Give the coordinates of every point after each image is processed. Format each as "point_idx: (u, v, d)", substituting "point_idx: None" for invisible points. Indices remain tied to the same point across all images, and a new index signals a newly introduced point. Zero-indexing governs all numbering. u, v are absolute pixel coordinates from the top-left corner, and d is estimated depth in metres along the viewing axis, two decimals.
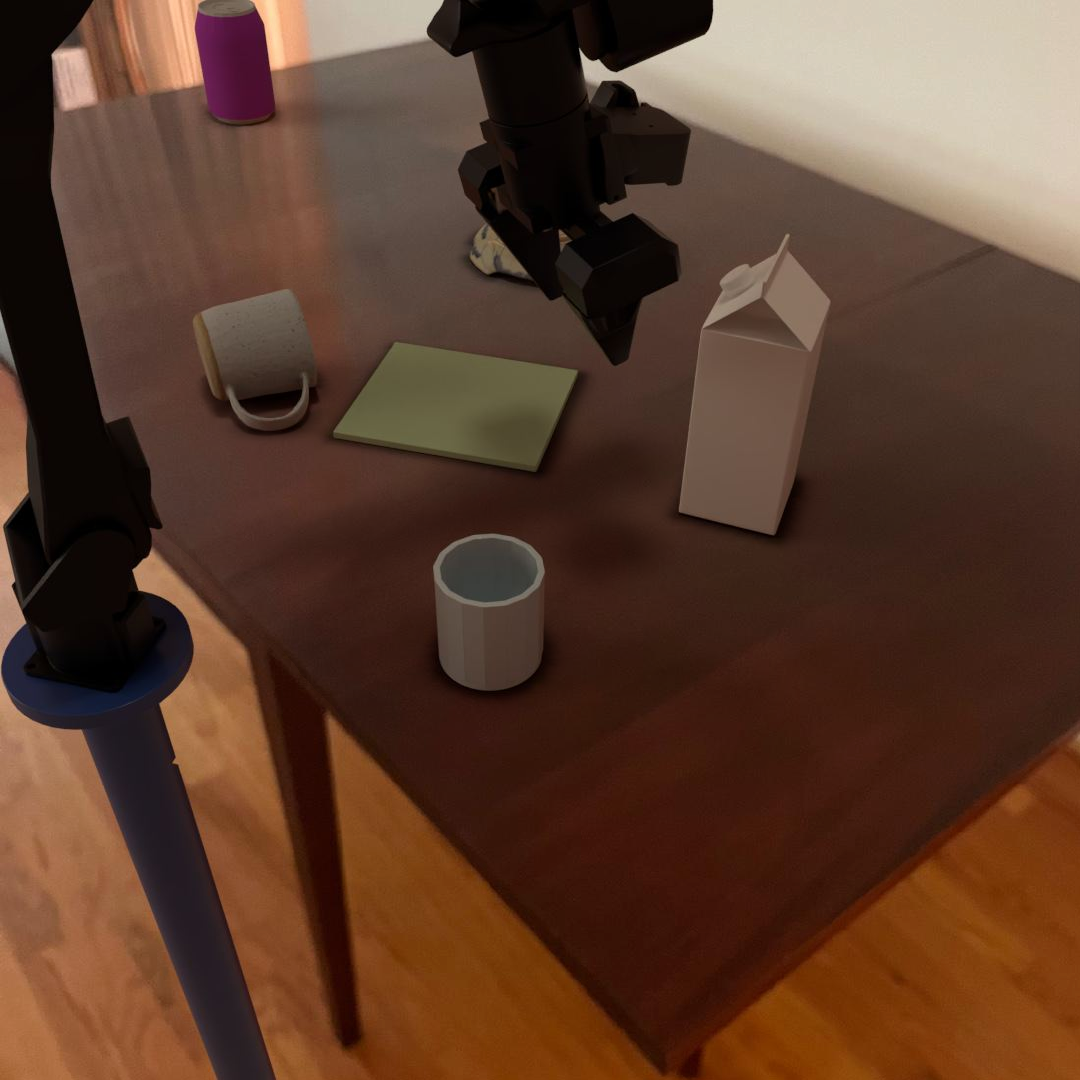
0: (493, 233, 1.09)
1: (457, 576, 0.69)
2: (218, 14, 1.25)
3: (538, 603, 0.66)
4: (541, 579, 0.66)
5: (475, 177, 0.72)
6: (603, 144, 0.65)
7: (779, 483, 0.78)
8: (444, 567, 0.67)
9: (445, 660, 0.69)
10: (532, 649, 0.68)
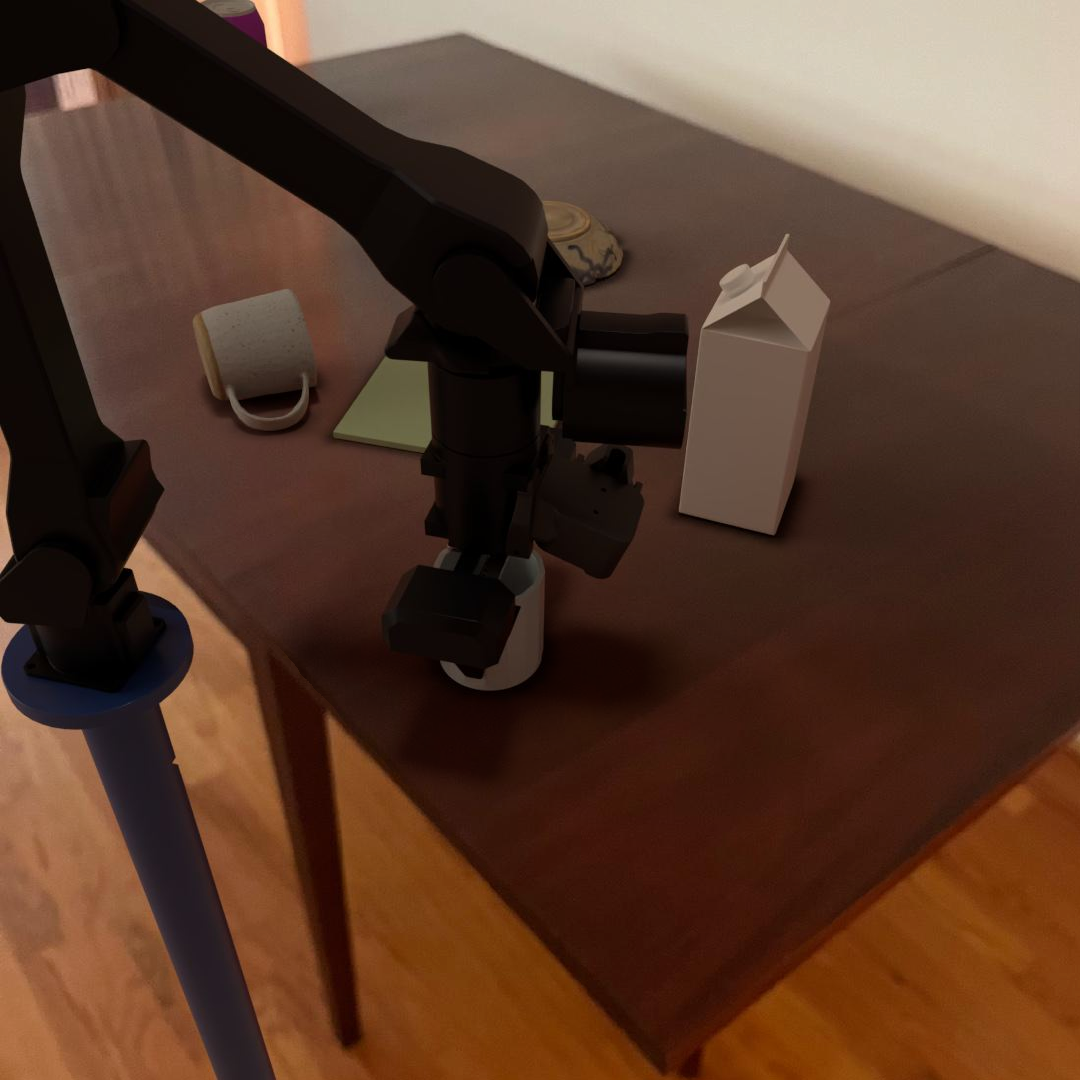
0: None
1: None
2: (218, 14, 1.25)
3: (538, 603, 0.66)
4: (541, 579, 0.66)
5: None
6: (518, 501, 0.59)
7: (779, 483, 0.78)
8: (444, 567, 0.67)
9: None
10: (532, 649, 0.68)
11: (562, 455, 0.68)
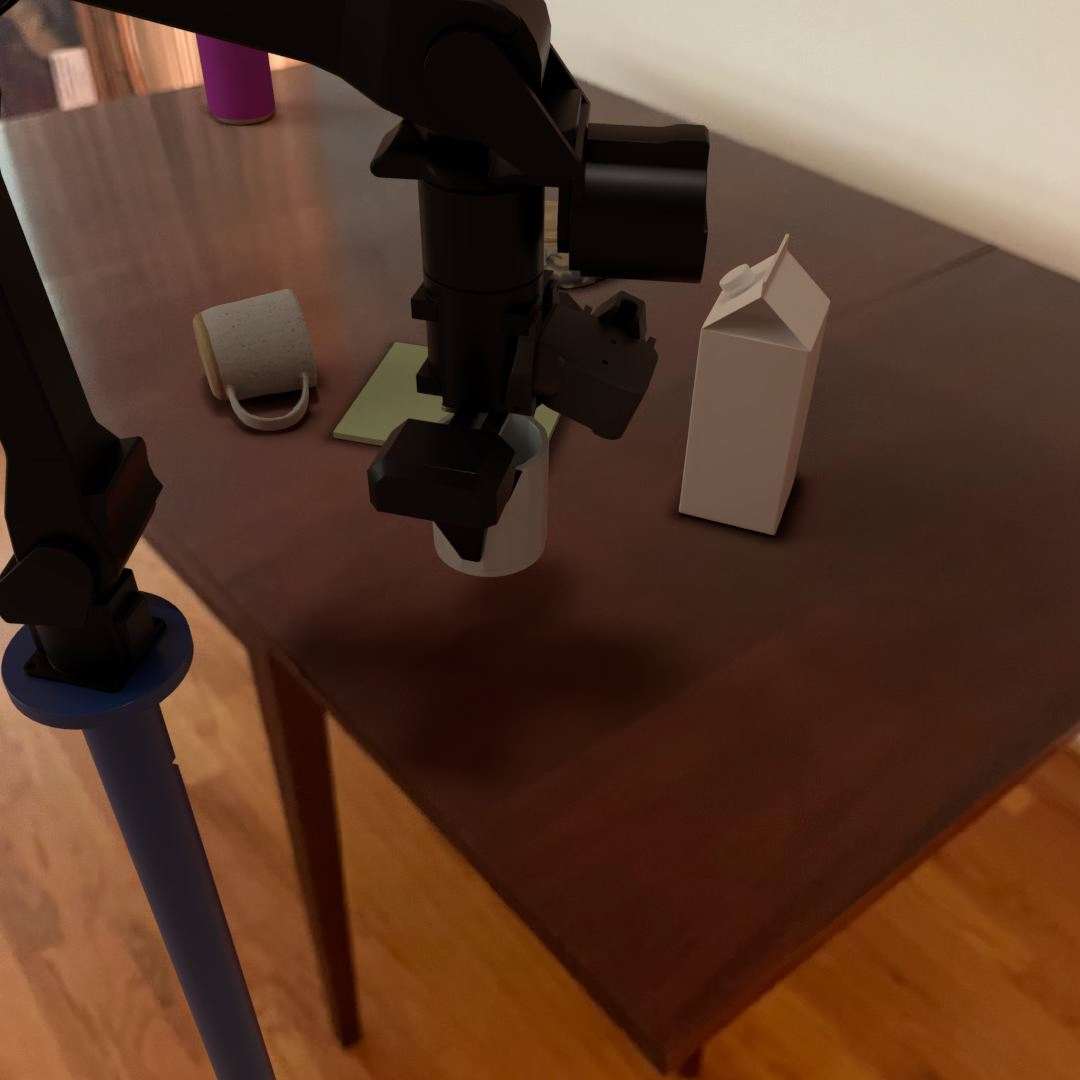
0: None
1: None
2: None
3: (542, 477, 0.61)
4: (545, 449, 0.60)
5: None
6: (519, 347, 0.54)
7: (779, 483, 0.78)
8: None
9: (440, 544, 0.63)
10: (535, 531, 0.63)
11: None
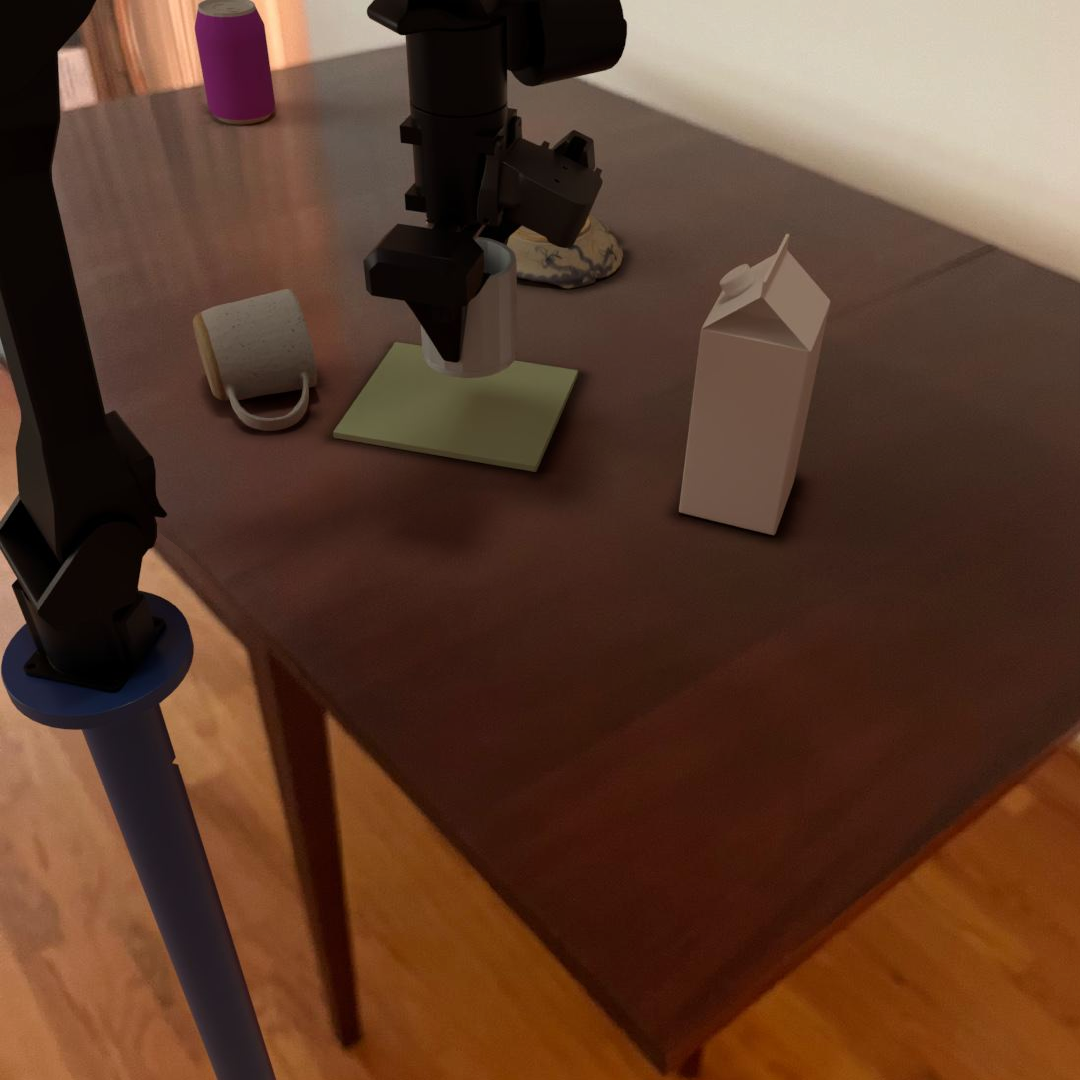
0: None
1: None
2: (218, 14, 1.25)
3: (510, 289, 0.73)
4: (512, 266, 0.73)
5: None
6: (486, 165, 0.66)
7: (779, 483, 0.78)
8: None
9: (427, 350, 0.76)
10: (505, 339, 0.75)
11: None
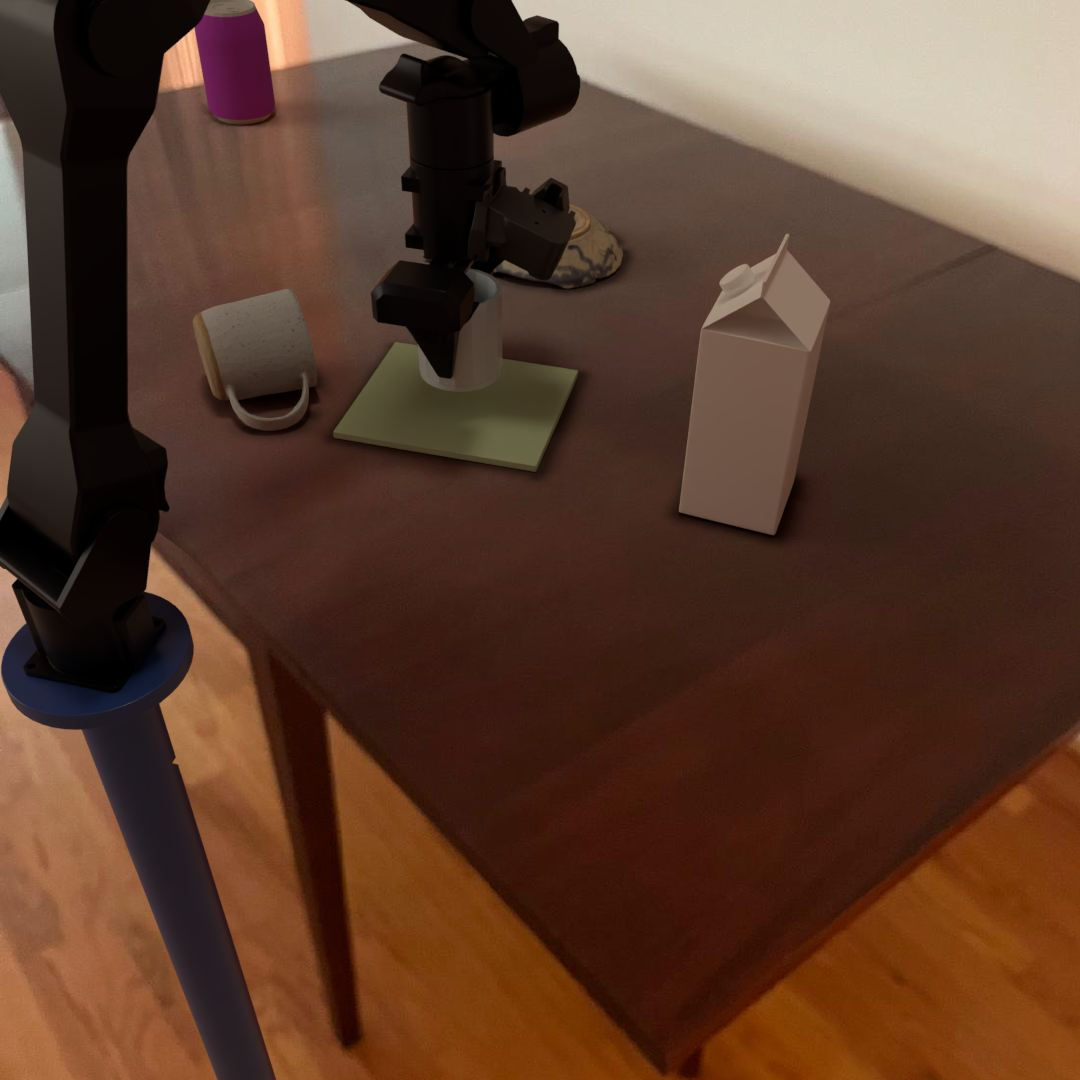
0: None
1: None
2: (218, 14, 1.25)
3: (496, 314, 0.84)
4: (498, 294, 0.84)
5: None
6: (476, 210, 0.77)
7: (779, 483, 0.78)
8: None
9: (423, 368, 0.87)
10: (492, 357, 0.86)
11: None
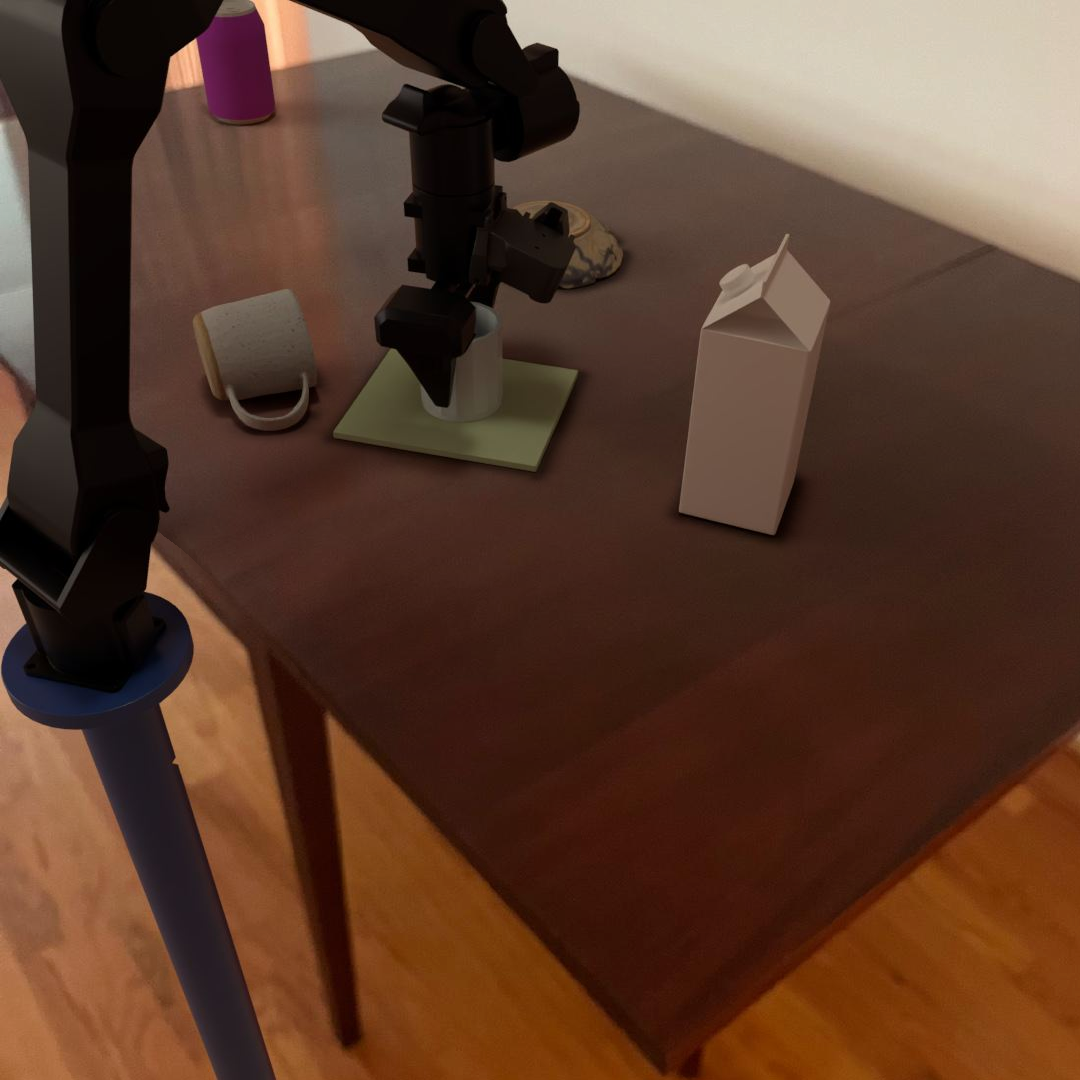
0: None
1: None
2: (218, 14, 1.25)
3: (497, 347, 0.86)
4: (499, 328, 0.86)
5: None
6: (477, 235, 0.79)
7: (779, 483, 0.78)
8: None
9: (426, 399, 0.89)
10: (493, 389, 0.88)
11: None
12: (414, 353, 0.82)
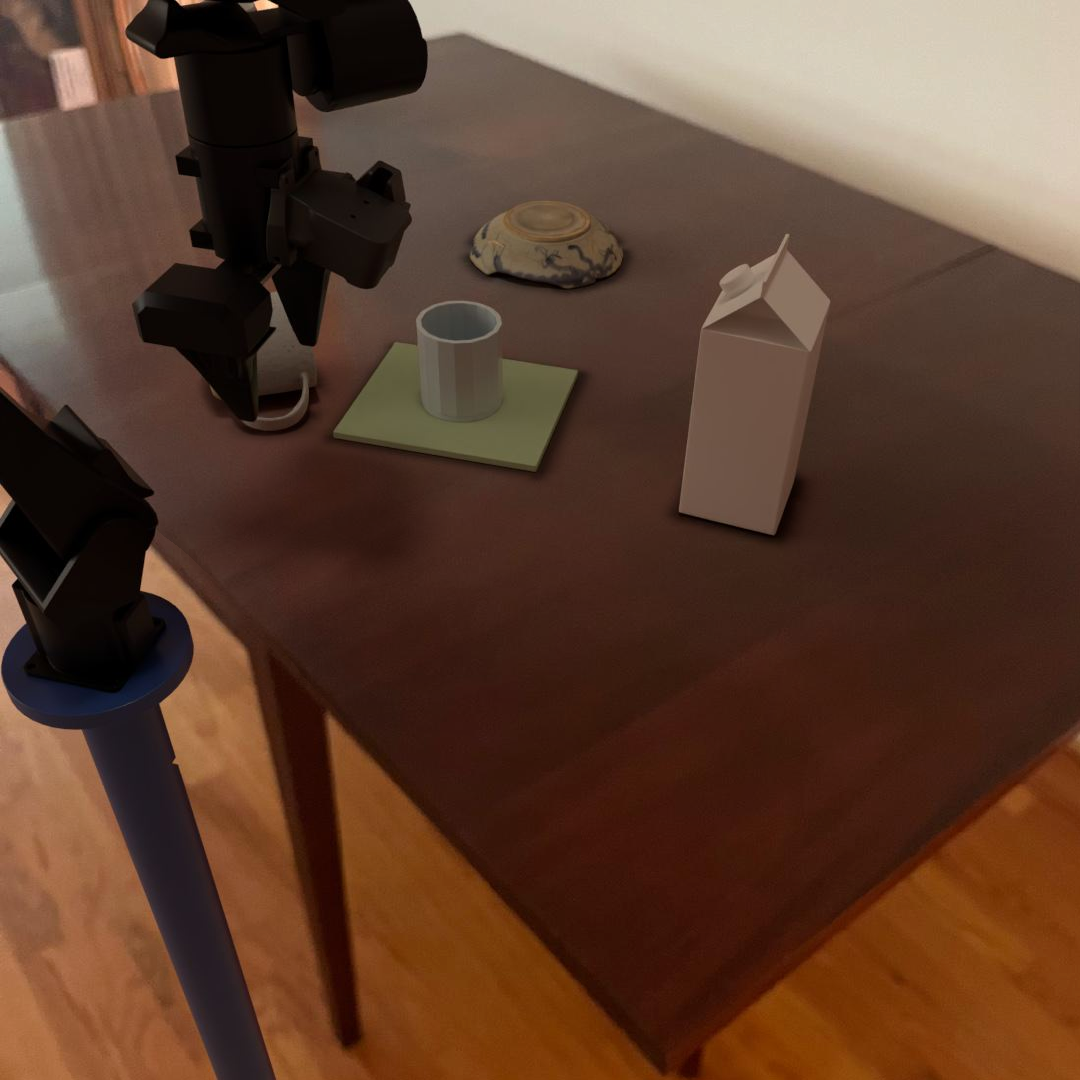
0: (493, 233, 1.09)
1: (435, 335, 0.89)
2: None
3: (497, 347, 0.86)
4: (499, 328, 0.86)
5: None
6: (272, 199, 0.61)
7: (779, 483, 0.78)
8: (424, 322, 0.87)
9: (426, 399, 0.89)
10: (493, 389, 0.88)
11: None
12: (199, 352, 0.63)
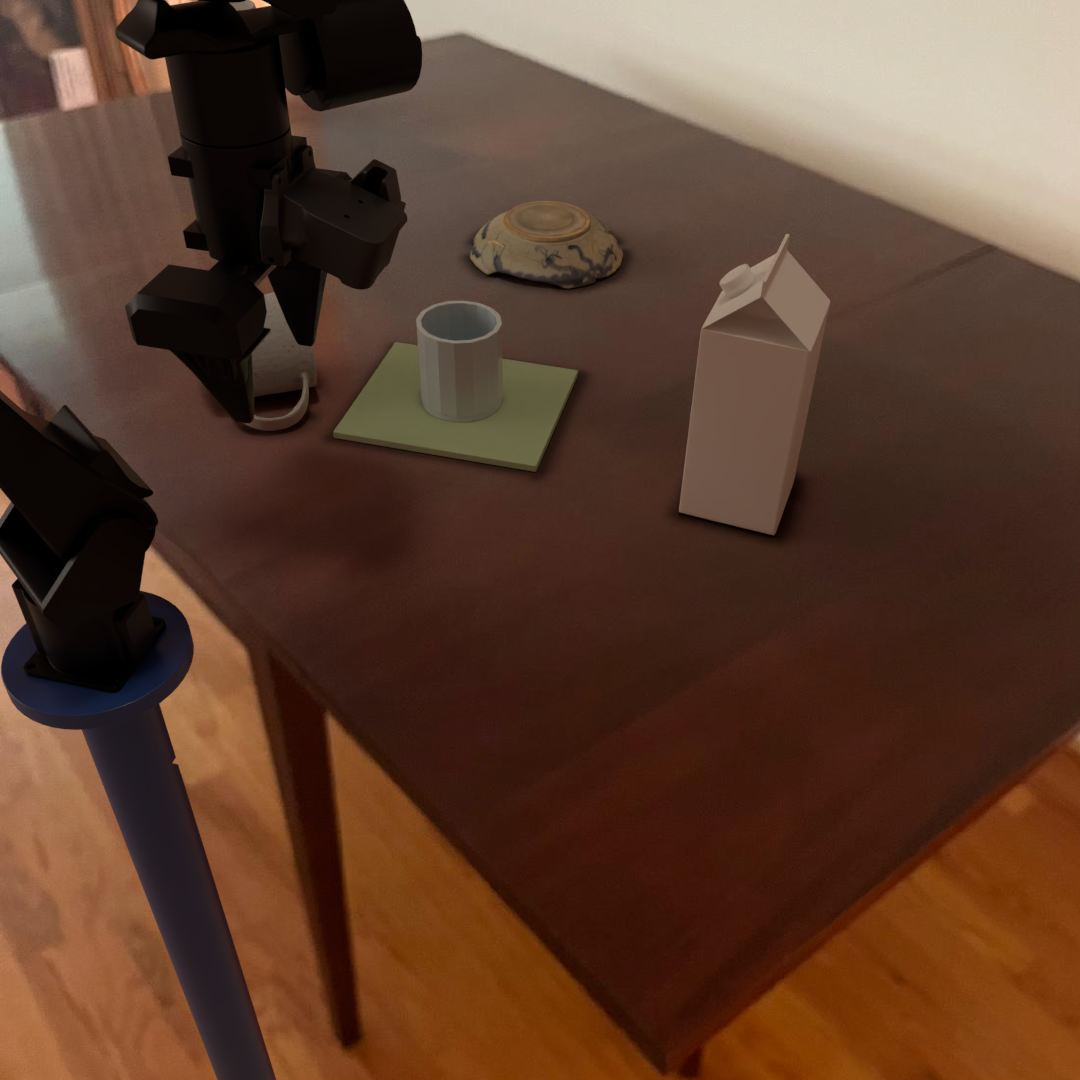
0: (493, 233, 1.09)
1: (435, 335, 0.89)
2: None
3: (497, 347, 0.86)
4: (499, 328, 0.86)
5: None
6: (265, 200, 0.60)
7: (779, 483, 0.78)
8: (424, 322, 0.87)
9: (426, 399, 0.89)
10: (493, 389, 0.88)
11: None
12: (193, 354, 0.63)
